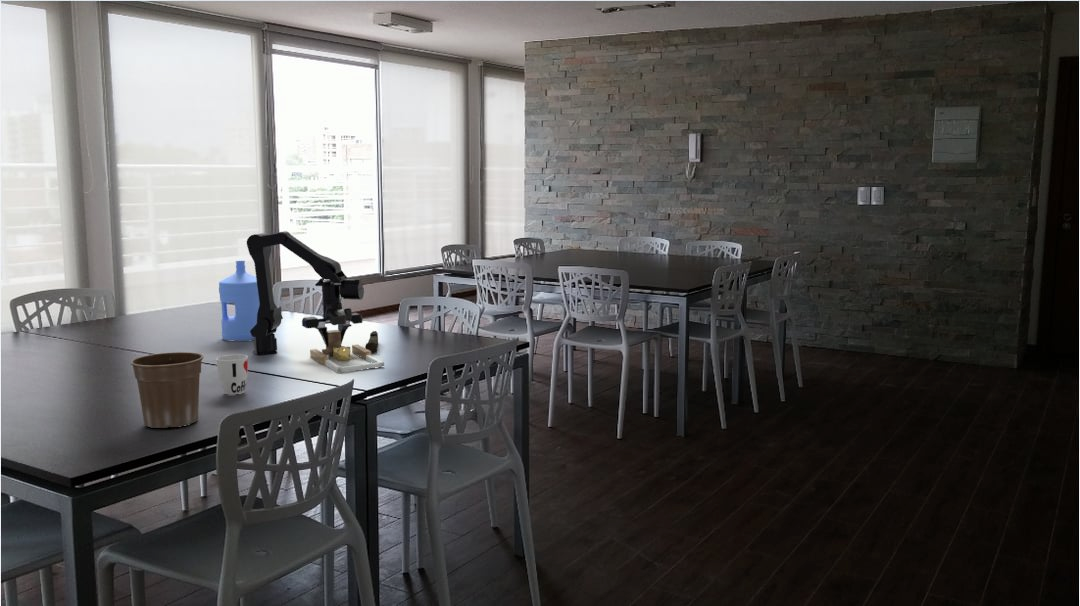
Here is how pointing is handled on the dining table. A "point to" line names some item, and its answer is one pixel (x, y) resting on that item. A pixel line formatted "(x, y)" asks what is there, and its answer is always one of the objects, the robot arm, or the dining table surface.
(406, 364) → the dining table surface
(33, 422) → the dining table surface
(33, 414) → the dining table surface
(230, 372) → the cup
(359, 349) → the wooden blocks
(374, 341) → the hand tool
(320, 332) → the robot arm
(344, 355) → the puck
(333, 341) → the brown t-shaped block
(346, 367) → the white tray
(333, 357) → the puck
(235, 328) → the water jug
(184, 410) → the plant pot
